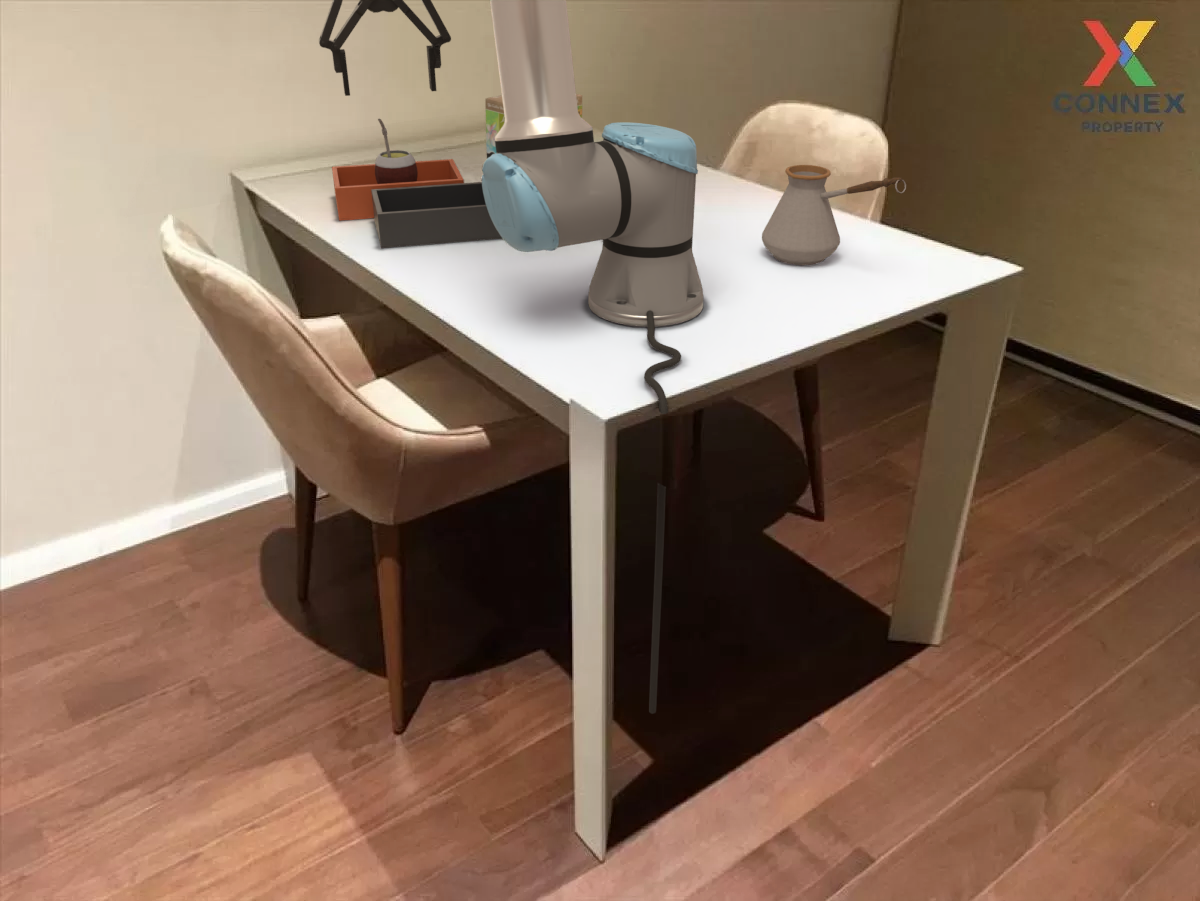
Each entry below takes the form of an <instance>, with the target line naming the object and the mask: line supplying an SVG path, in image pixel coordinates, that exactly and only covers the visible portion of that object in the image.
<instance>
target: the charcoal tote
mask: <svg viewBox="0 0 1200 901" xmlns="http://www.w3.org/2000/svg"><path fill="white" fill-rule="evenodd" d="M371 193H372V202H373V212H374V218H373V220H374V225H375V229H376V233H377V237H378V241H379V245H380V249H391V248H392V249H393V248H402V247H403V248H404V247H414V246H416V247H417V246H426V245H427V246H428V245H429V246H430V245H440V244H453V243H465V242H476V241H477V242H478V241H489V240H501V239H503V238H502V237H501V235H500V234H499V232H498V231H497V229H496V228H495V226H494V224H493V222H492V220H491V217H490V215H489V212H488V209H487V206H486V203H485V199H484V194H483V189H482V181H476V182H473V181H472V182H464V183H458V184H443V185H429V186H414V187H399V188H385V189H371ZM503 240H504V239H503Z"/></svg>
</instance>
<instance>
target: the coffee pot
mask: <svg viewBox="0 0 1200 901" xmlns="http://www.w3.org/2000/svg"><path fill="white" fill-rule="evenodd" d="M784 172H785V174H786V175H787V179H788V184H787V186H786V188H785V190H784V192H783V194H782V195H781V198H780V199H779V201H778V203H777V205H776V206H775V208H774V211H773V212H772V213H771V216H770V218H769V219H768V222H767V223H766V225H765V227H764V229H763V231H762V233H761V240H762V243H763V246H764V247H765V248H766V250H767V251H768V252H769V253H770V254H772V257H773V258H774V259H775V260H777V261H779V262H781V263H784V264H788V265H793V266H794V265H795V266H813V265H818V264H820V263H823V262H824V261H825V259H827V258H829V257H830V256H832V255H833V254H834V253H835V252H836V250H837V249H838V247H839V246H840V244H841V237H840V233H839V230H838V227H837V223H836V220H835V216H834V214H833V211H832V207H831V203H830V200H829V199H831V198H836V197H840V196H845V195H850V194H852V195H853V194H858V193H865V192H872V191H875V190H878V189H879V188H880V189H881V188H889V187H890V186H891V185H894V187H895V191H896V192H897V193H898V194H903V193H905V191H906V189H907V183H906V181H905V180H904V179H902V177H892V178H887V177H885V178H883V180H870V181H866V182H863V183H860V184H859V183H858V184H856V185H852V186H849V187H847V188H846V187H845V188H842V189H836V190H830V191H827V190H826V187H825V185H826V182H827V179H828V178H829V177H830V176H831V175H832V174H831V173H832V172H831V170H830V169H828V168H827V167H823V166H819V165H813V164H795V165H790V166H787V167H786V168H785V169H784ZM901 182H903V184H904V188H903V191H899V190H898V184H900V183H901Z"/></svg>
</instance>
